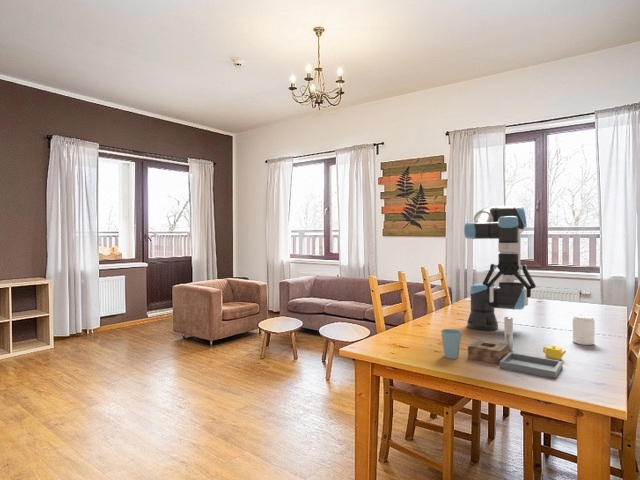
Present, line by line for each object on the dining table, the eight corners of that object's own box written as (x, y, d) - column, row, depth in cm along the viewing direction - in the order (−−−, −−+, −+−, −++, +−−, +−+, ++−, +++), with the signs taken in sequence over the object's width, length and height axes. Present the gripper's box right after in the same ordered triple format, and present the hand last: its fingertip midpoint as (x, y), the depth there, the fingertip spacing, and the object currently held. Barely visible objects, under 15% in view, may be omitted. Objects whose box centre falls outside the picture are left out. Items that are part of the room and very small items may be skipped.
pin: (503, 351, 165) (503, 318, 165) (505, 349, 168) (505, 316, 168) (511, 352, 163) (511, 319, 163) (513, 350, 166) (513, 317, 166)
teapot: (568, 359, 154) (568, 346, 154) (564, 363, 150) (564, 349, 150) (546, 355, 160) (546, 342, 160) (541, 358, 156) (541, 345, 156)
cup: (439, 353, 163) (439, 328, 163) (458, 353, 163) (458, 328, 162) (443, 359, 156) (443, 333, 155) (463, 359, 155) (463, 333, 155)
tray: (499, 367, 145) (499, 361, 145) (509, 358, 156) (509, 352, 156) (555, 378, 134) (555, 371, 134) (562, 367, 145) (562, 361, 144)
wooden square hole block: (468, 358, 157) (468, 345, 157) (478, 351, 166) (478, 339, 166) (499, 364, 149) (499, 351, 149) (508, 356, 158) (508, 344, 158)
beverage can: (584, 346, 170) (584, 319, 170) (568, 341, 178) (568, 315, 178) (599, 344, 173) (599, 317, 172) (582, 340, 180) (582, 314, 180)
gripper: (474, 252, 170) (475, 301, 170) (539, 254, 154) (539, 308, 154) (480, 252, 176) (480, 299, 176) (543, 253, 160) (543, 305, 160)
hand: (508, 303), depth 165 cm, fingers open, 13 cm apart
